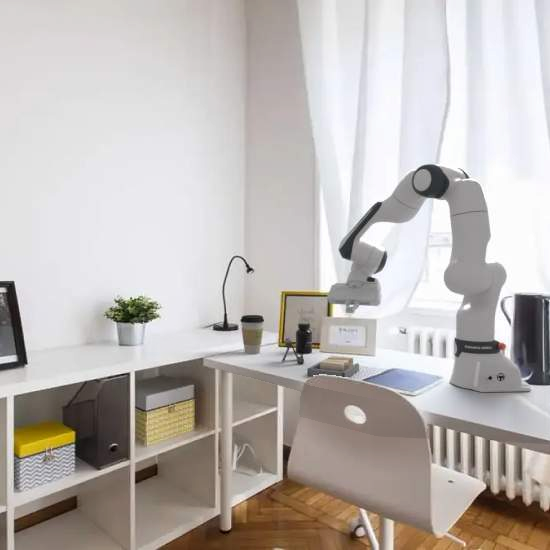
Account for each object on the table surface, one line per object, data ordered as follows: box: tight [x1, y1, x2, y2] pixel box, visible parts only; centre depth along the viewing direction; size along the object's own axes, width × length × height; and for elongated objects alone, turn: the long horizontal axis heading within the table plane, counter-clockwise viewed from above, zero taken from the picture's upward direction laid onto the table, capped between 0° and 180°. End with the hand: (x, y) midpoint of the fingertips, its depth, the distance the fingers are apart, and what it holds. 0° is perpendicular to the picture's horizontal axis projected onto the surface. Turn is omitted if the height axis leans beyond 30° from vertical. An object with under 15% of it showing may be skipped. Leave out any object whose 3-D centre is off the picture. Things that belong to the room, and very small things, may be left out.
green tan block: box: [320, 355, 354, 372], centre depth 168 cm, size 4×8×11 cm
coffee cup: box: [239, 314, 265, 355], centre depth 200 cm, size 10×10×15 cm
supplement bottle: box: [295, 322, 313, 355], centre depth 200 cm, size 7×7×12 cm
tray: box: [307, 361, 360, 378], centre depth 166 cm, size 13×15×2 cm
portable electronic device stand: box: [281, 337, 305, 365], centre depth 183 cm, size 9×8×8 cm
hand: (349, 312), depth 179 cm, fingers closed
